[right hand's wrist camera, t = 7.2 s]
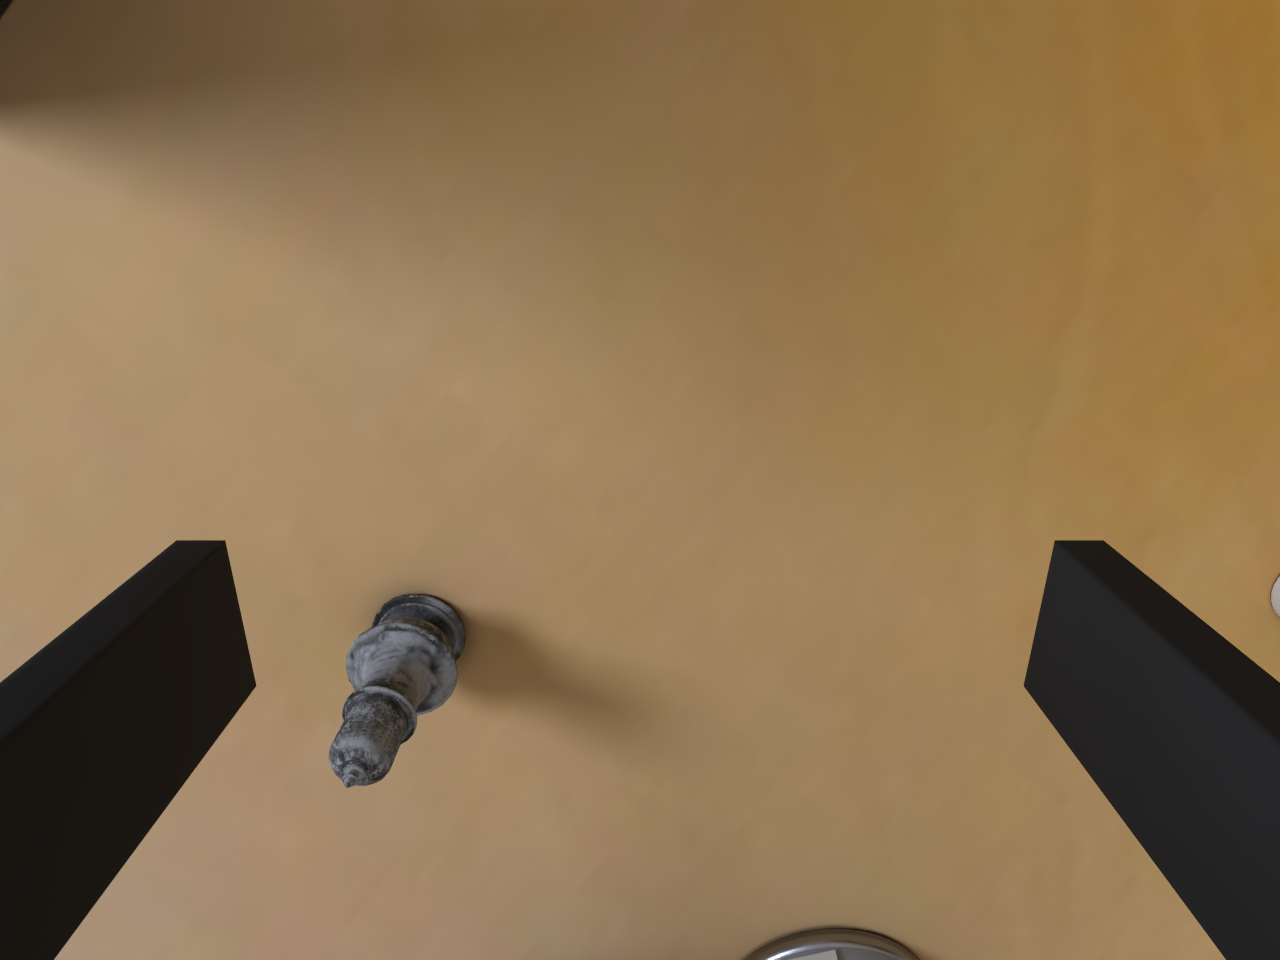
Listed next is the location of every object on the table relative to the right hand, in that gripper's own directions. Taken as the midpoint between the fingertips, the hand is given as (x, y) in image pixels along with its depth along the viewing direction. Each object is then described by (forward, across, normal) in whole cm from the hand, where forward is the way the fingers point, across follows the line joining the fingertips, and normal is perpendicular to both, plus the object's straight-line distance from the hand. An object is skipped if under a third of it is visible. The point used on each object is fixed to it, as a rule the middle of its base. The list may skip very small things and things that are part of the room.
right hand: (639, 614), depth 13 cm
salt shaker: (+28, +13, +18) cm, 36 cm away
